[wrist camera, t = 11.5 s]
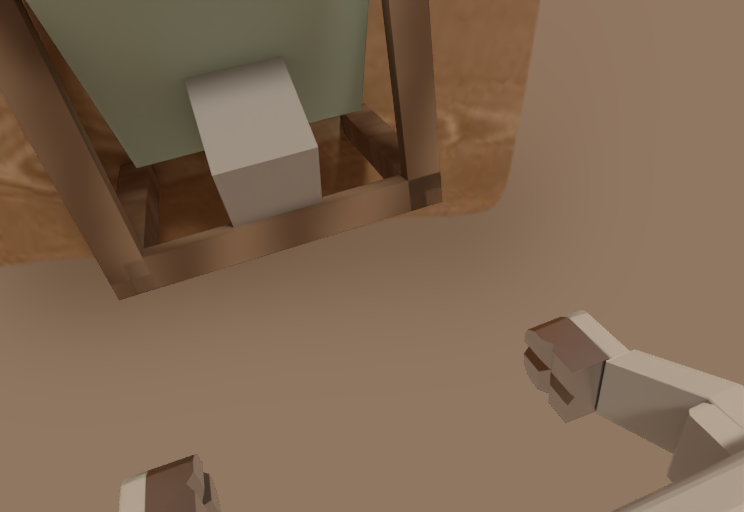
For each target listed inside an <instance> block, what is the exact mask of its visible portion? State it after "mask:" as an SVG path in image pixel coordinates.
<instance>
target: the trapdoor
mask: <svg viewBox="0 0 744 512" xmlns="http://www.w3.org/2000/svg"><path fill="white" fill-rule="evenodd" d="M26 2H27V3H28V5H29V6H30V8H31V9H32V11H33V12H34V14H35V15H36V17H37V18H38V20H39V21H40V23H41V24H42V26H43V27H44V29H45V30H46V32H47V33H48V35H49V36H50V38H51V39H52V41H53V42H54V44H55V45H56V47H57V49H58V50H59V52H60V53H61V55H62V56H63V58H64V59H65V61H66V62H67V64H68V65H69V67H70V68H71V70H72V71H73V73H74V74H75V76H76V77H77V79H78V80H79V82H80V83H81V85H82V86H83V88H84V89H85V91H86V92H87V94H88V95H89V97H90V98H91V100H92V101H93V103H94V104H95V106H96V107H97V109H98V110H99V112H100V113H101V115H102V116H103V118H104V119H105V121H106V123H107V124H108V126H109V127H110V129H111V130H112V132H113V133H114V135H115V136H116V138H117V139H118V141H119V142H120V144H121V145H122V147H123V148H124V150H125V151H126V153H127V154H128V156H129V157H130V159H131V160H132V162H133V163H134V165H135V166H136V168H139V167H143V166H147V165H150V164H154V163H158V162H162V161H166V160H170V159H174V158H177V157H181V156H185V155H189V154H193V153H197V152H201V151H204V146H203V143H202V139H201V136H200V133H199V129H198V126H197V122H196V119H195V115H194V112H193V108H192V105H191V101H190V98H189V95H188V91H187V88H186V84H185V81H184V78H189V77H193V76H197V75H202V74H206V73H210V72H215V71H219V70H223V69H228V68H232V67H236V66H241V65H245V64H249V63H254V62H258V61H262V60H267V59H271V58H275V57H280V56H282V57H283V60H284V62H285V65H286V67H287V70H288V72H289V75H290V77H291V80H292V82H293V85H294V88H295V90H296V93H297V95H298V98H299V100H300V103H301V105H302V108H303V110H304V113H305V115H306V118H307V120H308V123H313V122H316V121H320V120H324V119H328V118H332V117H336V116H340V115H343V114H347V113H351V112H355V111H359V110H361V109H362V94H363V79H364V64H365V49H366V34H367V19H368V4H369V0H26Z"/></svg>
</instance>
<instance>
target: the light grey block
mask: <svg viewBox="0 0 744 512" xmlns="http://www.w3.org/2000/svg"><path fill="white" fill-rule="evenodd" d="M184 81H185V84H186V88H187V91H188V95H189V98H190V101H191V105H192V108H193V112H194V115H195V119H196V122H197V126H198V129H199V133H200V136H201V139H202V143H203V146H204V150H205V153H206V157H207V160H208V164H209V167H210V171H211V174H212V177H213V179H214V182H215V184H216V187H217V189H218V191H219V194H220V196H221V198H222V201H223V203H224V206H225V208H226V210H227V213H228V215H229V218H230V220H231V222H232V225H233V227H238V226H241V225H245V224H248V223H251V222H255V221H258V220H262V219H265V218H269V217H272V216H275V215H279V214H282V213H286V212H289V211H293V210H296V209H300V208H303V207H306V206H310V205H313V204H317V203H320V202H322V192H321V179H320V165H319V151H318V145H317V143H316V140H315V138H314V135H313V133H312V130H311V128H310V125H309V123H308V120H307V118H306V115H305V113H304V110H303V108H302V105H301V103H300V100H299V98H298V95H297V93H296V90H295V88H294V85H293V82H292V80H291V77H290V75H289V72H288V70H287V67H286V65H285V62H284V60H283V57H282V56H280V57H275V58H271V59H267V60H262V61H258V62H254V63H249V64H245V65H241V66H236V67H232V68H228V69H223V70H219V71H215V72H210V73H206V74H202V75H197V76H193V77H189V78H184Z"/></svg>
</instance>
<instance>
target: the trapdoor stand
mask: <svg viewBox="0 0 744 512" xmlns="http://www.w3.org/2000/svg"><path fill="white" fill-rule="evenodd" d="M382 8H383V17H384V25H385V34H386V43H387V51H388V60H389V69H390V77H391V86H392V95H393V103H394V112H395V120H396V129H397V132H395V131H394V130H393V129H392V128H391V127H390V126H389V125H388V124H387V123H385V122H384V121H383V120H382V119H381V118H380V117H379V116H378V115H377V114H375V113H374V112H373V111H372V110H371V109H370V108H369V107H368V106H366V105H365V104H362V109H361V110H359V111H355V112H351V113H347V114H343V115H341V116H342V121H343V127H344V132H345V135H346V136H347V137H348V138H349V139H350V140H351V141H352V143H353V144H354V145H355V146H356V147H357V148H358V150H359V151H360V152H361V153H362V154H363V155H364V157H365V158H366V159H367V160H368V161H369V162H370V163H371V165H372V166H373V167H374V168H375V169H376V170H377V172H378V173H379V174H380V175H381V176H382V177H383V180H380V181H376V182H373V183H369V184H366V185H362V186H359V187H355V188H352V189H349V190H345V191H342V192H338V193H335V194H331V195H328V196H324V197H322V202H320V203H317V204H313V205H310V206H306V207H303V208H300V209H296V210H293V211H289V212H286V213H282V214H279V215H275V216H272V217H269V218H265V219H262V220H258V221H255V222H251V223H248V224H245V225H241V226H238V227H233V225H232V223H231V224H227V225H224V226H221V227H217V228H214V229H210V230H207V231H203V232H200V233H196V234H193V235H189V236H186V237H183V238H179V239H176V240H172V241H169V242H165V243H162V244H158V229H159V182H158V179H157V177H156V175H155V172H154V170H153V168H152V165H151V164H150V165H147V166H143V167H139V168H136V166H135V165H134V163H131V164H127V165H123V166H121V167H120V173H119V178H118V184H117V190H116V192H115V190H114V188H113V186H112V184H111V182H110V180H109V178H108V176H107V174H106V172H105V170H104V168H103V166H102V164H101V162H100V160H99V158H98V156H97V153H96V151H95V149H94V147H93V145H92V143H91V141H90V139H89V137H88V135H87V133H86V131H85V129H84V127H83V125H82V123H81V121H80V119H79V117H78V115H77V113H76V111H75V109H74V107H73V105H72V103H71V101H70V99H69V97H68V94H67V92H66V90H65V88H64V86H63V84H62V82H61V80H60V78H59V76H58V74H57V72H56V70H55V68H54V66H53V64H52V62H51V60H50V58H49V56H48V54H47V52H46V50H45V48H44V46H43V44H42V42H41V40H40V38H39V36H38V33H37V31H36V29H35V27H34V25H33V23H32V21H31V19H30V17H29V15H28V13H27V11H26V9H25V7H24V5H23V3H22V1H21V0H0V90H1V92H2V94H3V96H4V97H5V99H6V101H7V103H8V105H9V106H10V108H11V110H12V112H13V113H14V115H15V117H16V119H17V120H18V122H19V124H20V126H21V127H22V129H23V131H24V133H25V135H26V136H27V138H28V140H29V142H30V143H31V145H32V147H33V149H34V150H35V152H36V154H37V156H38V158H39V159H40V161H41V163H42V165H43V166H44V168H45V170H46V172H47V173H48V175H49V177H50V179H51V180H52V182H53V184H54V186H55V188H56V189H57V191H58V193H59V195H60V196H61V198H62V200H63V202H64V203H65V205H66V207H67V209H68V210H69V212H70V214H71V216H72V218H73V219H74V221H75V223H76V225H77V226H78V228H79V230H80V232H81V233H82V235H83V237H84V239H85V240H86V242H87V244H88V246H89V248H90V249H91V251H92V253H93V255H94V256H95V258H96V260H97V262H98V263H99V265H100V267H101V269H102V270H103V272H104V274H105V276H106V278H107V279H108V281H109V283H110V285H111V286H112V288H113V290H114V292H115V293H116V295H117V297H118V299H119V300H121V299H125V298H128V297H131V296H135V295H138V294H141V293H144V292H148V291H151V290H154V289H157V288H160V287H164V286H167V285H170V284H174V283H177V282H180V281H184V280H187V279H190V278H193V277H196V276H200V275H203V274H207V273H210V272H213V271H216V270H220V269H223V268H226V267H229V266H233V265H236V264H239V263H242V262H246V261H249V260H252V259H256V258H259V257H262V256H266V255H269V254H272V253H275V252H279V251H282V250H285V249H289V248H292V247H295V246H298V245H302V244H305V243H308V242H311V241H314V240H318V239H321V238H325V237H328V236H331V235H334V234H337V233H341V232H344V231H347V230H351V229H354V228H357V227H361V226H364V225H367V224H370V223H374V222H377V221H380V220H384V219H387V218H390V217H393V216H397V215H400V214H403V213H407V212H410V211H413V210H416V209H420V208H423V207H426V206H429V205H433V204H436V203H439V202H442V191H441V176H440V161H439V146H438V131H437V116H436V101H435V86H434V71H433V56H432V41H431V26H430V11H429V0H382Z"/></svg>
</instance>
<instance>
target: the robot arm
mask: <svg viewBox="0 0 744 512" xmlns="http://www.w3.org/2000/svg"><path fill="white" fill-rule="evenodd" d="M525 342H526V343H527V344H528V346H529V347H528V349H527V350H526V352H525V353H524V365H525V368H526V371H527V374H528V376H529V377H530V379H531V381H532V382H533V384H534V385H535V386H536V388H537V389H539V390H541V391H544V392H546V393H549V404H550V405H551V406H552V407H553V409H554V410H555V411H556V412H557V413H558V414H559V416H560V417H561V418H562V420H563V421H564V422H565V423H567V422H570V421H572V420H575V419H577V418H580V417H583V416H585V415H588V414H590V413H593V412H596V413H597V414H599V415H600V416H602V417H604V418H606V419H608V420H610V421H612V422H614V423H616V424H618V425H620V426H621V427H623V428H625V429H627V430H629V431H631V432H633V433H635V434H637V435H639V436H640V437H642V438H644V439H646V440H648V441H650V442H652V443H654V444H656V445H658V446H659V447H661V448H663V449H665V450H667V451H669V452H671V453H673V456H672V459H671V462H670V465H669V468H668V472H667V477H668V478H669V479H670V480H671V481H672V482H673V483H671V484H669V485H667V486H665V487H663V488H661V489H659V490H656V491H654V492H652V493H650V494H648V495H646V496H643V497H641V498H639V499H637V500H635V501H633V502H631V503H628V504H626V505H625V506H622V507H620V508H618V509H616V510H614V511H611V512H744V387H743V386H742V385H740V384H737V383H734V382H731V381H728V380H725V379H722V378H719V377H716V376H713V375H710V374H707V373H704V372H701V371H698V370H695V369H692V368H689V367H686V366H683V365H680V364H677V363H674V362H671V361H668V360H665V359H662V358H659V357H656V356H653V355H650V354H647V353H644V352H641V351H638V350H632V351H629V350H628V349H627V348H626V347H624V346H623V345H622V344H621V343H620V342H619V341H618V340H617V339H615V338H614V337H613V336H612V335H611V334H610V333H609V332H608V331H607V330H606V329H604V328H603V327H602V326H601V325H600V324H599V323H598V322H597V321H595V319H593V318H592V317H591V316H590V315H589V314H588V313H587V312H585V311H583V310H579V311H576V312H574V313H571V314H568V315H566V316H564V317H559V318H556V319H554V320H551V321H549V322H546V323H544V324H541V325H538V326H536V327H534V328H531V329H528V330H527V332H526V333H525ZM119 512H220V504H219V500H218V495H217V491H216V488H215V485H214V482H213V480H212V478H211V476H210V475H209V474H207V473H204V472H203V464H202V461H201V460H200V458H199V456H198V455H197V454H195V455H192V456H189V457H186V458H183V459H181V460H178V461H175V462H172V463H169V464H166V465H163V466H160V467H157V468H154V469H151V470H149V471H146V472H143V473H141V474H138V475H135V476H132V477H129V478H127V479H124V480H123V483H122V486H121V488H120V501H119Z"/></svg>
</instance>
